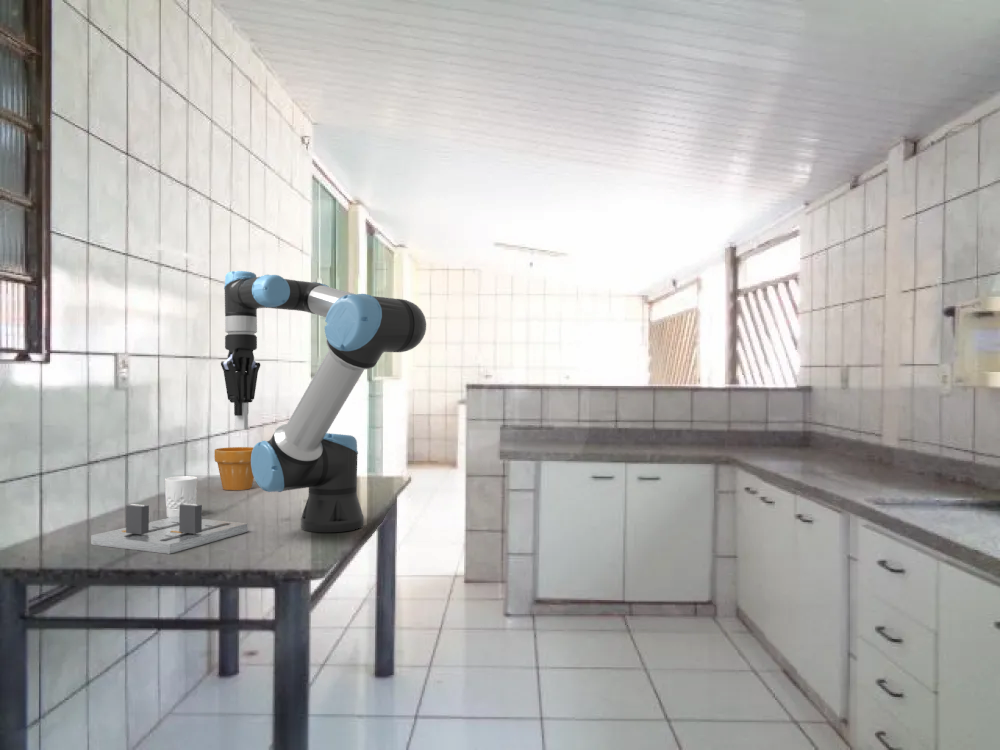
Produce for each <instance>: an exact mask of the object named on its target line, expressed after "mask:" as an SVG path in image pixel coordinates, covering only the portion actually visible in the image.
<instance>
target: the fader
mask: <svg viewBox="0 0 1000 750" xmlns="http://www.w3.org/2000/svg"><path fill="white" fill-rule="evenodd" d="M202 515H203V505H202V504H197V503H196V504H182V505H180V510H179V532H183V533H192V534H196V533H200V532H202V519H203V516H202Z"/></svg>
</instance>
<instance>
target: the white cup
mask: <svg viewBox="0 0 1000 750" xmlns="http://www.w3.org/2000/svg"><path fill="white" fill-rule="evenodd" d="M197 490H198V477H197V476H191V475H188V476H187V475H182V476H181V475H180V476H170V477H165V478H164V491H165V492H164V493H165V495H164V496H165V497H164V498H165V506H166V518H171V517H175V516H177V517H179V510H180V505H182V504H196V505H197V492H198V491H197Z"/></svg>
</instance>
